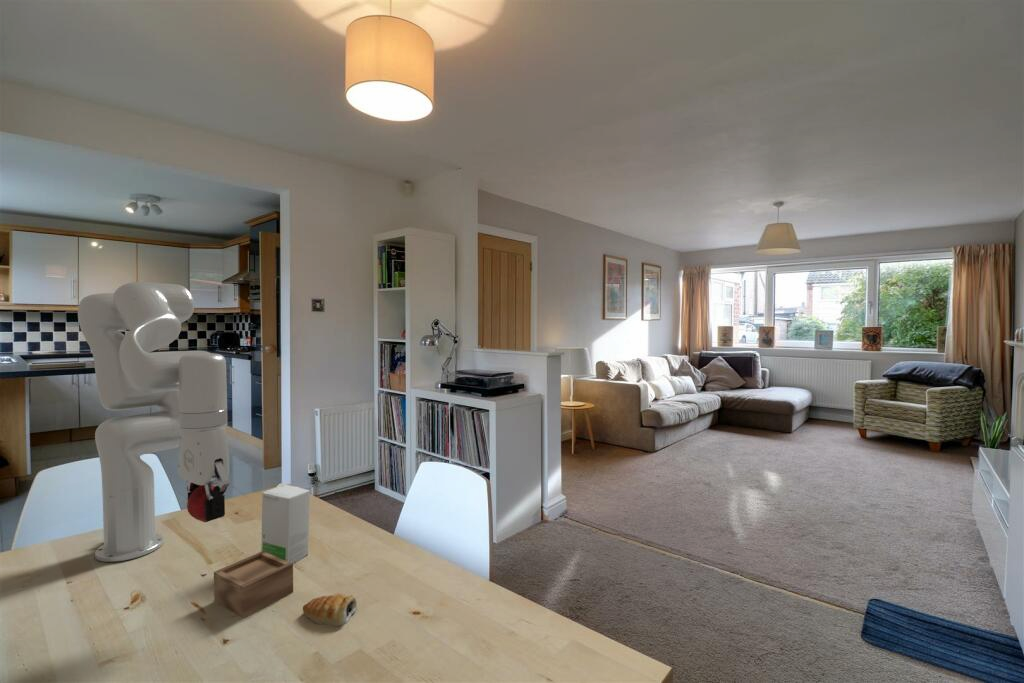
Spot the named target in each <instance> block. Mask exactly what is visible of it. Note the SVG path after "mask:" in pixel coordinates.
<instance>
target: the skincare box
mask: <svg viewBox="0 0 1024 683" xmlns="http://www.w3.org/2000/svg"><path fill="white" fill-rule="evenodd" d="M310 494H311V490H309V489H305V488H301V487H299V486H292V485H289V484H281V485H279V486H277V487H274V488H272V489H268V490H265V491H264V492H262V503H261V506H262V509H261V551H260V552H262V551H264V552H266V553H269V554H271V555H273V556H276V557H278V558H281V559H283V560H285V561H288V562H290V563H292V564H293V565H294V564H295V563H297V562H298V560H299V561H300V560H303V559H304V558H305V557H307V556H309V541H310V540H309V539H310V538H309V536H310V535H309V534H310V533H309V532H310V530H309V529H310V501H311V500H310V497H311V496H310ZM306 555H307V556H306ZM303 557H304V558H303ZM296 561H297V562H296Z"/></svg>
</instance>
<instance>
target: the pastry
mask: <svg viewBox="0 0 1024 683" xmlns="http://www.w3.org/2000/svg"><path fill="white" fill-rule="evenodd" d="M357 610H358V600H357V598H356V597H355V596H354V595H352V594H351V595H346V594H341V593H334V594H332V595H322V596H320V597H316V598H312V599H311V600H310V601H308V602H307V603H306V604H304V605H303V606H302V613H303V615H304V616H305V618H306V619H308V620H311V621H313V622H314V623H316V624H317V625H323V626H328V627H335V628H336V627H340V628H341V627H343V626H344V625H347V623H348V622H349V621H350V619H351V617H352V615H353V614H355V613H356V611H357Z"/></svg>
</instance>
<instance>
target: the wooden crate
mask: <svg viewBox="0 0 1024 683" xmlns="http://www.w3.org/2000/svg"><path fill="white" fill-rule="evenodd" d="M292 593H294V563H293V564H292V563H290V562H288V561H285V560H283V559H281V558H278V557H276V556H273V555H271V554H269V553H266V552H264V551H262V552H261V551H260V552H258V553H255V554H253V555H251V556H248V557H246V558H244V559H241V560H239V561H237V562H234V563H232V564H229V565H227V566H225V567H222V568H220V569H218V570H216V571H213V597H214V598H213V599H214V600H213V601H214V603H216V604H218V605H220V606H222V607H223V608H225V609H227V610H229V611H231V612H232V613H234V614H236V615H237V616H239V617H241V618H243V619H245V618H248V617H249V616H252V614H255V613H257V612H259V611H260V610H262V609H264V608H266V607H268V606H270V605H272V604H273V603H275V602H277V601H279V600H281V599H283V598H285V597H288V596H289V595H290V594H291V595H292Z"/></svg>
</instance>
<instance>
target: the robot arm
mask: <svg viewBox="0 0 1024 683" xmlns="http://www.w3.org/2000/svg"><path fill="white" fill-rule="evenodd" d="M194 310H195V300H194V296H193V295H192V293H191V291H190V290H189V289H188V288H186V287H185V286H183V285H181V284H176V283H175V284H174V283H162V282H161V283H160V282H146V281H145V282H142V281H141V282H140V281H139V282H138V281H136V282H134V281H133V282H128V283H125V284H122V285H121V286H118V287H117V289H116V290H115V291H114V292H108V293H107V292H105V293H103V292H102V293H94V294H89V295H86V296H85V297H83V298H82V299H81V300H80V302H79V303H78V307H77V319H78V325H79V327H80V330H81V332H82V335H83V337H84V339H85V341H86V342H87V344H88V346H89V349H90V350H91V354H92V357H93V363H94V372H95V378H96V379H95V380H96V386H97V394H98V398H99V403H100V404H101V406H102V408H103V409H105V410H108V411H113V412H114V411H126V410H127V411H129V410H137V409H144V408H153V407H154V408H156V409H157V410H158V411H151V412H146V413H144V412H143V413H133V414H127V415H121V416H116V417H112V418H109V419H107V420H104V421H103V422H102V423H100V424H99V425H98V426H97V428H96V430H95V433H94V440H95V441H94V442H95V446H96V450H97V454H98V458H99V464H100V471H101V472H100V473H101V490H102V491H101V493H102V522H103V524H102V525H103V526H102V527H103V544H102V545H101V546H99V547H98V548H97V549H96V550H95V552H94V554H95V557H94V558H95V559H96V560H98V561H99V562H106V563H114V562H123V561H129V560H132V559H136V558H140V557H143V556H145V555H148V554H150V553H152V552H154V551H156V550H157V549H159V548H160V547H161V546H163V544H164V536H163V535H162V534H160V533H157V532H156V517H155V516H156V514H155V513H156V511H155V510H156V509H155V508H156V506H155V476H154V475H155V474H154V470H153V468H152V467H151V466H150V465H149V464H148V463H147V462H146V461H144V460H143V459H141V456H143V455H147V454H152V453H156V452H157V453H158V452H162V451H167V450H172V449H176V448H178V459H177V461H178V462H177V466H178V470H177V471H178V472H177V473H178V477H180V479H182V480H184V481H186V491H187V500H188V499H189V497H190V495H191V494H192V493H193V491H194V490H195V489H196V488H198V487H199V486H203V485H205V490H206V495H207V499H206V500H205V520H206V521H208V522H211V521H214V520H217V519H221V518H223V517H225V516H226V514H225V513H226V507H225V506H226V504H225V501H226V500H225V496H226V495H227V493H226V491H227V489H228V487H229V485H230V484H231V482H230V481H231V480H230V478H229V475H230V456H229V444H228V442H229V441H228V436H227V430H226V428H227V427H228V388H227V387H228V386H227V385H228V384H227V361H226V357H225V356H224V355H222V354H220V353H213V352H212V353H211V352H209V351H206V350H178V351H177V350H175V351H174V350H173V351H172V350H171V351H170V350H169V351H157V350H159V349H162V348H164V347H166V346H168V345H170V344H171V343H173V342H174V341H175V340H176V339H177V338H178V337H179V335H180V333H181V331H182V324H183V323H184V322H186V321H188V320H189V319H190V318H191V317H192V315H193V314H194V312H195V311H194ZM123 330H124V331H127V333H126V334H124V333H122V332H120V331H123ZM214 478H215V479H216V480H212V479H214ZM211 485H213V486H214V485H215V487H214V489H213V490H212V488H211Z"/></svg>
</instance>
